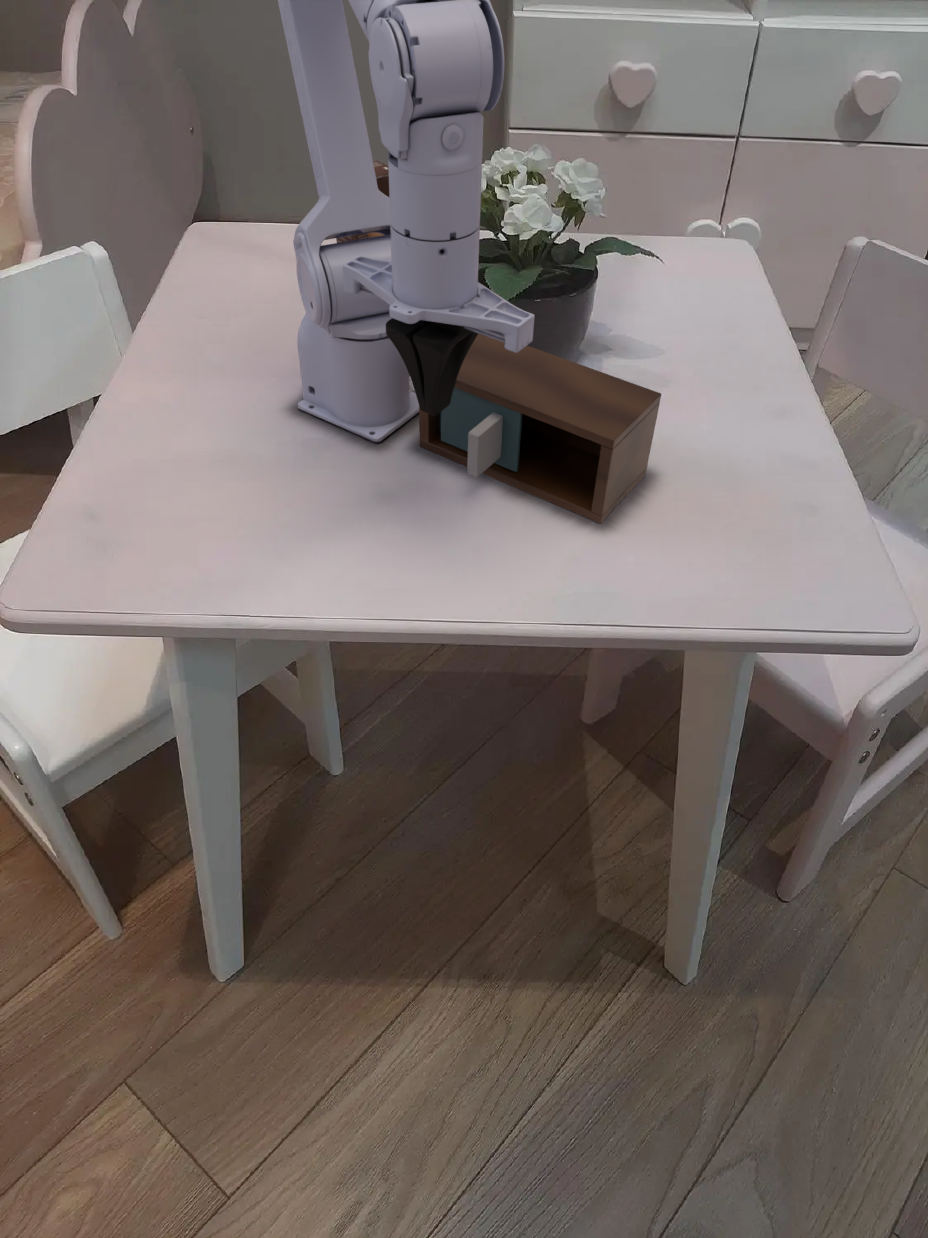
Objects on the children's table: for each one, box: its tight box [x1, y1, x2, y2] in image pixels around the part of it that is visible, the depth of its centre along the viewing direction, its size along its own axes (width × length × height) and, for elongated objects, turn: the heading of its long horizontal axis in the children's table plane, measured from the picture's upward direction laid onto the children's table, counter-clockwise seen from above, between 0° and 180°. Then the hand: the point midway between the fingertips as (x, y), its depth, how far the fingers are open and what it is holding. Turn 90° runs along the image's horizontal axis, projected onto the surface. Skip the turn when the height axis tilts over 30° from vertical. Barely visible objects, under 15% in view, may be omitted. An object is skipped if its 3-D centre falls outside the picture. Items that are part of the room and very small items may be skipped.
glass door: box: [441, 387, 522, 478], centre depth 76 cm, size 4×8×6 cm, turn 55°
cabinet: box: [418, 334, 662, 525], centre depth 78 cm, size 8×18×8 cm, turn 56°
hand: (435, 406), depth 69 cm, fingers closed
